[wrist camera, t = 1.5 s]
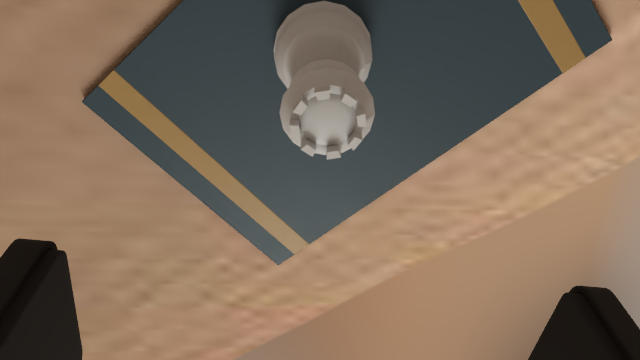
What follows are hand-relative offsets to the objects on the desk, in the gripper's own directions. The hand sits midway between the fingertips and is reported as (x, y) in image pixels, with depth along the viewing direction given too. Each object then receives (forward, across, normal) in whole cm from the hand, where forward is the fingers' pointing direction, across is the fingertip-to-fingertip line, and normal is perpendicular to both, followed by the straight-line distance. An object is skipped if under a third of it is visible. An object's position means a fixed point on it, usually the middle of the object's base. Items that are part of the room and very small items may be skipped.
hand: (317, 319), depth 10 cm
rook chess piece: (+16, -1, 0) cm, 16 cm away
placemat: (+16, -2, +1) cm, 16 cm away
